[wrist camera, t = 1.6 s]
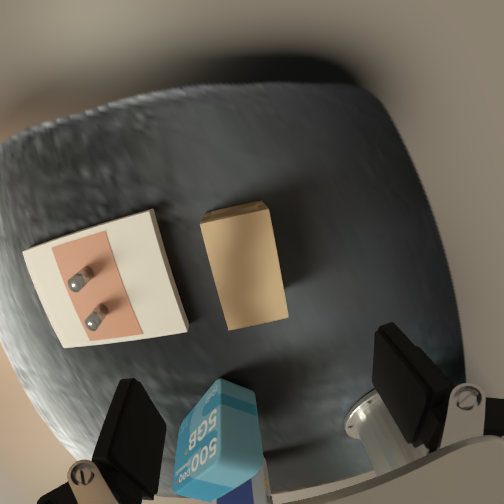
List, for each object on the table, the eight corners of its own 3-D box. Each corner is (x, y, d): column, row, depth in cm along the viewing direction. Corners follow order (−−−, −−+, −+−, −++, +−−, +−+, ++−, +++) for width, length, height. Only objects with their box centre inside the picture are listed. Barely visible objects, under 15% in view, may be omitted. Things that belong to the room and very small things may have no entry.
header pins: (91, 264, 24) (77, 276, 21) (110, 314, 26) (99, 330, 23) (80, 267, 24) (65, 279, 21) (99, 316, 26) (88, 331, 23)
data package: (221, 372, 30) (221, 459, 19) (255, 385, 31) (266, 469, 20) (179, 423, 33) (170, 496, 21) (208, 434, 34) (207, 505, 22)
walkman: (224, 469, 37) (226, 527, 26) (216, 462, 36) (216, 523, 25) (267, 458, 37) (277, 519, 25) (261, 451, 36) (269, 515, 25)
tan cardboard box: (261, 200, 25) (268, 209, 20) (278, 291, 28) (288, 317, 23) (205, 212, 25) (199, 224, 20) (228, 302, 28) (228, 330, 23)
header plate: (153, 208, 24) (149, 211, 23) (189, 323, 28) (187, 332, 27) (29, 247, 24) (21, 252, 23) (68, 341, 28) (63, 348, 26)
